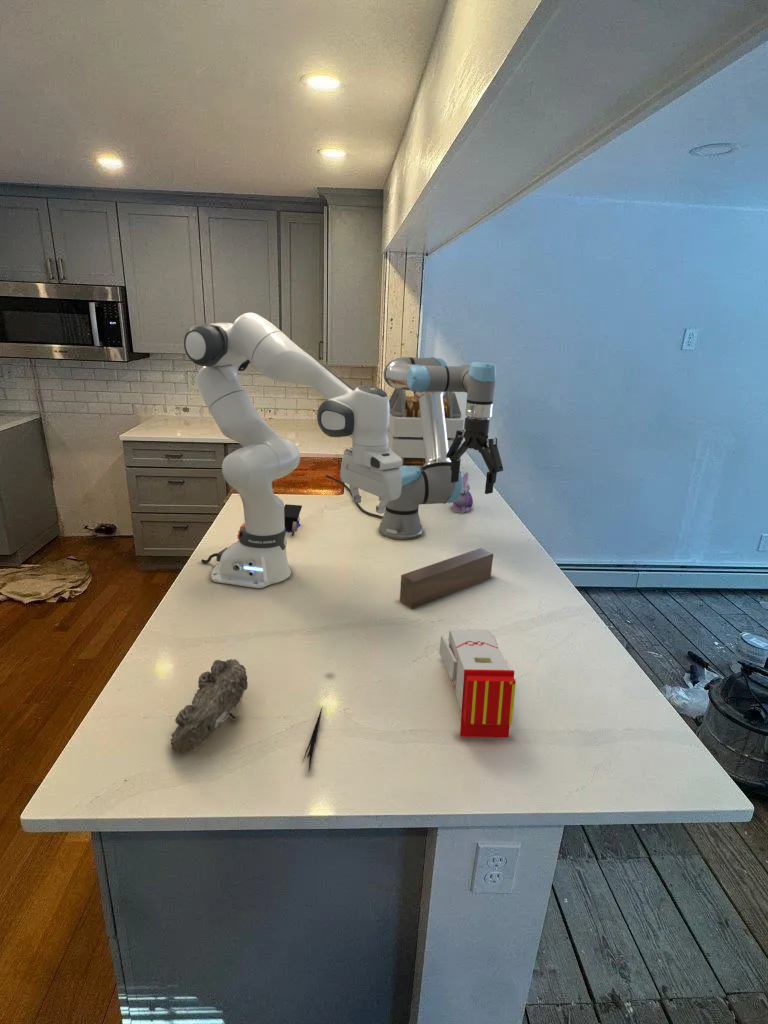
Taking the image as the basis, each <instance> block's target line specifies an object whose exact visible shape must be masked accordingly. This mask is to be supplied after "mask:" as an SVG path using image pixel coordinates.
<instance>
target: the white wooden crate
mask: <svg viewBox="0 0 768 1024" xmlns="http://www.w3.org/2000/svg"><path fill="white" fill-rule="evenodd" d="M442 398H443V407H444V415H445V423H446V432H447V440H448V449H450V447H451V445H452V443H453V441H454V439H455V436H456V431H457V430H464V422H465V419H463V418H462V411H461V408H460V405H459V402H458V398H457V395H456V392H446V393H445V395H444V396H443V397H442ZM389 407H390V423H389V428H388V432H387V436H388V441H389V445H388V448H390V449H391V450H392V451H393V452H394V453H395V454H397V455H398V456H399V457H400V458H401V459H402V466H416V467H423V465H424V464H425V463H426V461H425V451H424V442H423V433H422V424H421V415H420V406H419V400H418V399H416V398H415V397H414V395H410V396H409V395H407V393H406V390H400V389H395V388H394V389H393V392H392V393H391V395H390V398H389ZM462 443H463V441H462V442H461V444H460V446H459V448H460V447H461V446H462ZM459 448H458V449H459ZM459 459H460V460H457V461H460V463H461V462H462V458H461V457H460V458H459Z"/></svg>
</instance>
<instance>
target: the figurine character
mask: <svg viewBox="0 0 768 1024" xmlns="http://www.w3.org/2000/svg"><path fill="white" fill-rule="evenodd" d="M302 508H303V504H301V505H300V504H287V503H286V504H285V503H284V526H285V528H286V533H291V537H293V536H295V533H297V532H298V528H300V527H301V523H300V521H301V518H300V517H301V516H300V514H301V511H302Z"/></svg>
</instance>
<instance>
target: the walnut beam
mask: <svg viewBox="0 0 768 1024" xmlns="http://www.w3.org/2000/svg"><path fill="white" fill-rule="evenodd" d="M493 561H494V553H493V552H491V551H489V550H486V549H485V548H482V547H479V548H477V549H473V550H470V551H468V552H465V553H461V554H459V555H456V556H453V557H450V558H447V559H444V560H441V561H438V562H435V563H432V564H429V565H426V566H423V567H421V568H417V569H415V570H412V571H409V572H407V573H403V574H401V575H400V589H399V590H400V591H399V602H400V603H401V604H403V605H405V606H406V607H408V608H410V609H411V610H413V609H416V608H418V607H420V606H424V605H426V604H428V603H431V602H434V601H436V600H438V599H441V598H443V597H446V596H448V595H451V594H453V593H456V592H459V591H461V590H463V589H467V588H469V587H471V586H474V585H476V584H479V583H481V582H484V581H486V580H489V579H491V577H492V567H493Z"/></svg>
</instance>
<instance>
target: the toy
mask: <svg viewBox="0 0 768 1024" xmlns="http://www.w3.org/2000/svg"><path fill="white" fill-rule="evenodd" d="M438 654H439V656H440V658H441V660H442V662H443V665H444V666H445V668H446V671H447V673H448V675H449V677H450V681H451V683H452V685H453V689H454V690H455V695H456V698H457V702H458V705H459V708H460V726H459V737H460V738H509V737H510V728H511V727H510V726H512V725H513V717H514V706H515V705H514V704H515V693H516V684H517V683H516V679H515V670H514V669H510V667H509V666H508V663H507V662H506V660H505V658H504V655H503V654H502V652H501V650H500V648H499V644H498V642H497V638H496V635H495V634H492V632H491V631H490V629H467V628H466V629H465V628H463V629H461V628H460V629H459V628H450V629H449V631H448V641H447V639H446V638H445V636H444V634H443V635H442V634H441V635H440V641H439V651H438Z"/></svg>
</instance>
